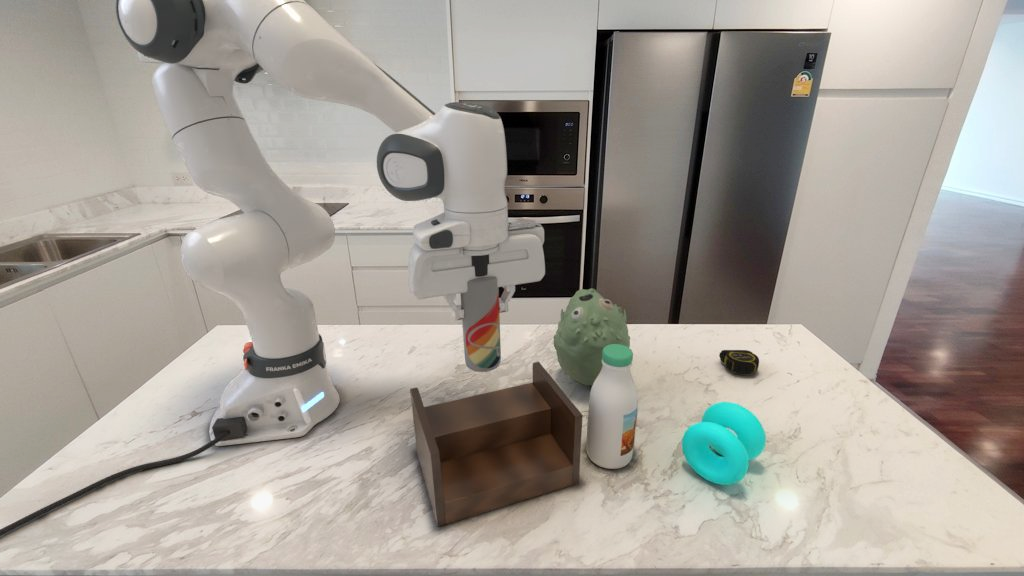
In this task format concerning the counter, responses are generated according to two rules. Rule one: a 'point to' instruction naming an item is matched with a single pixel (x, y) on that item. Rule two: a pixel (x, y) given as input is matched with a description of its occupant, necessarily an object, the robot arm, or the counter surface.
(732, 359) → the tape measure
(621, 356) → the milk bottle
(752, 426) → the turquoise yo-yo
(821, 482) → the counter surface
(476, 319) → the lotion bottle
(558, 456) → the step rack
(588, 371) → the green monster figurine
